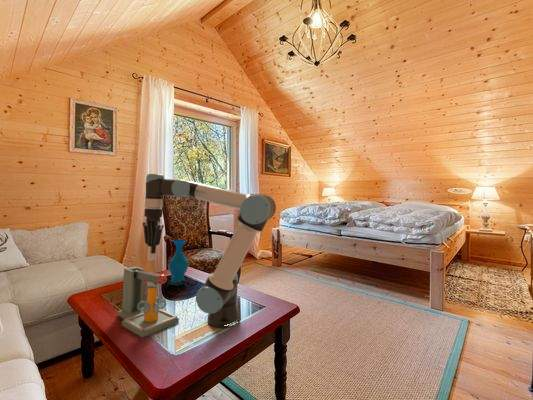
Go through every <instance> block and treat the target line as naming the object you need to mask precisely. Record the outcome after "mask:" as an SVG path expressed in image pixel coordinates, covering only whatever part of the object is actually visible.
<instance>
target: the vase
mask: <svg viewBox="0 0 533 400" xmlns="http://www.w3.org/2000/svg"><path fill="white" fill-rule="evenodd" d="M172 242H173V244H174V245H175V253H174V255H173V256H172V257H171V259H170V261H169V263H168V270H169V272H170V274H171V280H170V281H171V282H173V283H177V282H181V281H183V280H185V274H186V272H187V270H188V268H189V260H188V259H187V258H186V256H185V255H184V252H183V246H184V244H185V243H186V242H187V240H186V239H173V240H172ZM169 284H170V285H172V286H179V285H184V284H183V283H181V284H172V283H170V282H169Z"/></svg>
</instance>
